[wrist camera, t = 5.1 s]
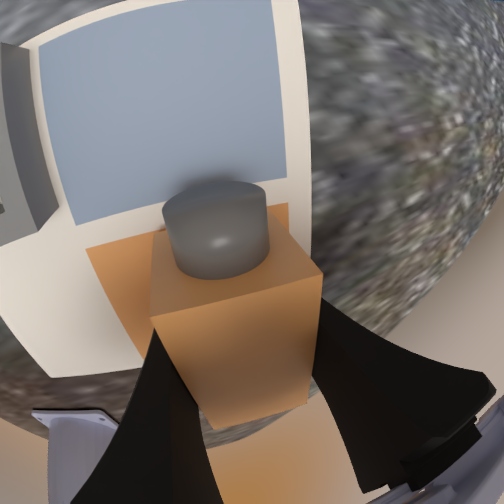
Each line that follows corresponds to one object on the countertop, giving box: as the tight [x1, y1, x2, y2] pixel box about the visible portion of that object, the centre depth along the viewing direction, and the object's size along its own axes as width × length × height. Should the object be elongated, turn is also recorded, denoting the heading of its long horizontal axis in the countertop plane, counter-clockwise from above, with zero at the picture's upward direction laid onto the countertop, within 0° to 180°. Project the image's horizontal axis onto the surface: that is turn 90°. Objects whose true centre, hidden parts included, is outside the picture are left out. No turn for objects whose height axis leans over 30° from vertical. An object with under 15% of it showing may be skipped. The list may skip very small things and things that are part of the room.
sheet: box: [0, 0, 311, 378], centre depth 9 cm, size 16×16×1 cm
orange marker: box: [150, 181, 323, 430], centre depth 9 cm, size 8×4×4 cm, turn 6°
